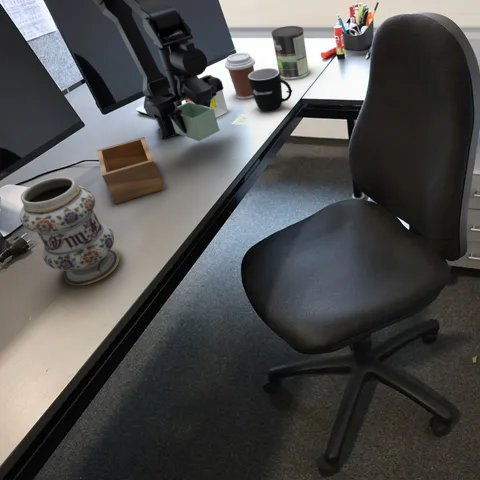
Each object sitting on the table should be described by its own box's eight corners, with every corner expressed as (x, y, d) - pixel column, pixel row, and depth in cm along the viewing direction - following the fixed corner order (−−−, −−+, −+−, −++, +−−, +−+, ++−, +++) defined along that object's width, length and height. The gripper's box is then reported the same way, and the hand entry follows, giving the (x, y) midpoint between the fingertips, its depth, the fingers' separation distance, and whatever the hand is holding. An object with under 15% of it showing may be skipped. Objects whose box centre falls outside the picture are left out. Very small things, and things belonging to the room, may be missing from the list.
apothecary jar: (133, 245, 98) (95, 167, 86) (112, 287, 88) (66, 207, 77) (74, 250, 98) (29, 173, 86) (46, 292, 88) (-9, 213, 77)
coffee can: (284, 82, 159) (276, 37, 151) (275, 72, 167) (267, 30, 158) (313, 75, 162) (307, 31, 153) (303, 66, 170) (297, 23, 161)
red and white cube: (207, 122, 140) (199, 96, 135) (190, 116, 144) (182, 91, 139) (228, 111, 145) (221, 85, 140) (211, 106, 149) (204, 81, 144)
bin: (175, 132, 124) (168, 111, 121) (196, 122, 128) (189, 101, 124) (199, 141, 120) (191, 119, 116) (219, 130, 123) (213, 108, 120)
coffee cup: (267, 92, 154) (259, 54, 146) (244, 103, 149) (234, 63, 141) (250, 86, 159) (241, 49, 151) (227, 96, 154) (217, 58, 146)
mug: (250, 113, 142) (242, 79, 136) (262, 100, 149) (255, 67, 143) (289, 114, 140) (282, 80, 133) (299, 101, 146) (293, 68, 140)
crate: (109, 176, 120) (96, 149, 115) (154, 163, 123) (144, 136, 118) (115, 204, 110) (101, 175, 105) (164, 188, 113) (153, 160, 109)
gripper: (163, 86, 104) (185, 151, 114) (229, 58, 115) (244, 119, 125) (134, 77, 109) (157, 140, 119) (200, 51, 120) (216, 110, 130)
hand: (196, 127), depth 123 cm, fingers closed on bin, 6 cm apart
